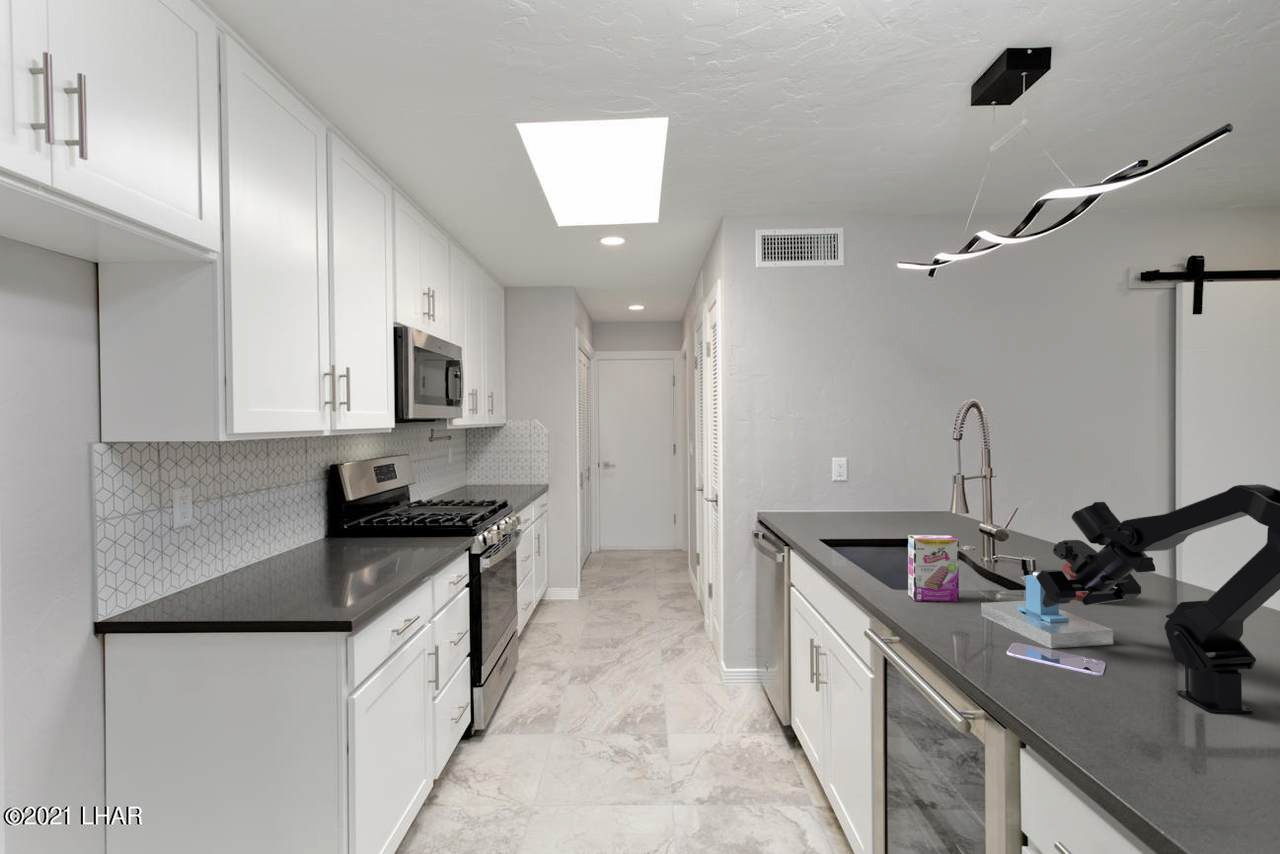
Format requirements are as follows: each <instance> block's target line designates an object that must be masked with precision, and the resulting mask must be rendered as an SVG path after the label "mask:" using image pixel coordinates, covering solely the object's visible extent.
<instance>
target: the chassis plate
mask: <svg viewBox="0 0 1280 854" xmlns="http://www.w3.org/2000/svg"><path fill="white" fill-rule="evenodd" d="M980 605H981V606H980V607H981V608H980V609H981V611H980V614H981V617H983V618H985V619H987V620H989V621H991V622H994V623H996V624H998V625H1000V626H1002V627H1005V628H1007V629H1008V630H1010V631H1013V632H1015V633H1017V634H1018V635H1021V636H1024V637H1025V638H1028V639H1029V640H1032V641H1034V642H1036V643H1038V644H1040V645H1043V646H1045V647H1047V648H1048V649H1050V650H1053V649H1063V648H1064V649H1065V648H1078V647H1079V648H1080V647H1081V648H1082V647H1092V646H1093V647H1094V646H1107V645H1108V646H1109V645H1114V629H1112V628H1109V627H1107V626H1104V625H1102V624H1098V623H1097V622H1093V621H1091V620H1088V619H1086V618H1083V617H1081V616H1078V615H1075V614H1073V613H1070V612H1068V611H1064V610H1062V609H1061V608H1059V614H1061V615H1063V616H1066V617H1068V618H1069V621H1068V622H1053V623H1050V622H1047V621H1039V620H1037V619H1034V618H1032V617H1030V616H1027V615H1025V612H1023V611H1021V610H1019V609H1018V606H1019V605H1026V600H1014V601H997V602H981V603H980Z"/></svg>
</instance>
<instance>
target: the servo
mask: <svg viewBox="0 0 1280 854" xmlns="http://www.w3.org/2000/svg"><path fill="white" fill-rule="evenodd" d="M1039 572H1040V571H1039ZM1039 572H1037V571H1033V572H1032V574H1028V575H1027V574H1026V575H1025V601H1026V605H1019V606H1018V609H1019V610H1021V611H1023V612H1025V615H1027V616H1030V617H1032V618H1034V619H1037V620H1039V621H1047V622H1050V623H1053V622H1068V621H1069V618H1068V617H1066V616H1063V615H1061V614H1059V609H1060V605H1057V606H1053V607H1048V608H1045V607H1044V605H1043V604H1042V602H1043V598H1044V595H1045V591H1044V589H1043V588H1042V586H1041V584H1040V583H1039V581H1038V580H1037V578H1036V576H1037V574H1038V573H1039Z"/></svg>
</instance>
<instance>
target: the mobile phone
mask: <svg viewBox="0 0 1280 854" xmlns="http://www.w3.org/2000/svg"><path fill="white" fill-rule="evenodd" d="M1006 654H1007V655H1008V656H1010V657H1014V658H1018V659H1023V660H1027V661H1031V662H1035V663H1040V664H1045V665H1050V666H1053V667H1057V668H1061V669H1067V670H1070V671H1071V670H1072V671H1075V672H1080V673H1085V674H1088V675H1089V674H1090V675H1093V676H1099V677H1100V676H1103V675H1104V672H1105V668H1106V662H1105V661H1103V660H1101V659H1097V658H1091V657H1088V656H1087V657H1086V656H1082V655H1077V654H1074V653H1073V654H1072V653H1067V652H1062V651H1058V650H1055V649H1050V648H1045V647H1040V646H1035V645H1031V644H1030V645H1029V644H1024V643H1020V642H1013V643H1012V644H1011V645H1010V646H1009V648H1008V649H1007V650H1006Z"/></svg>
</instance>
